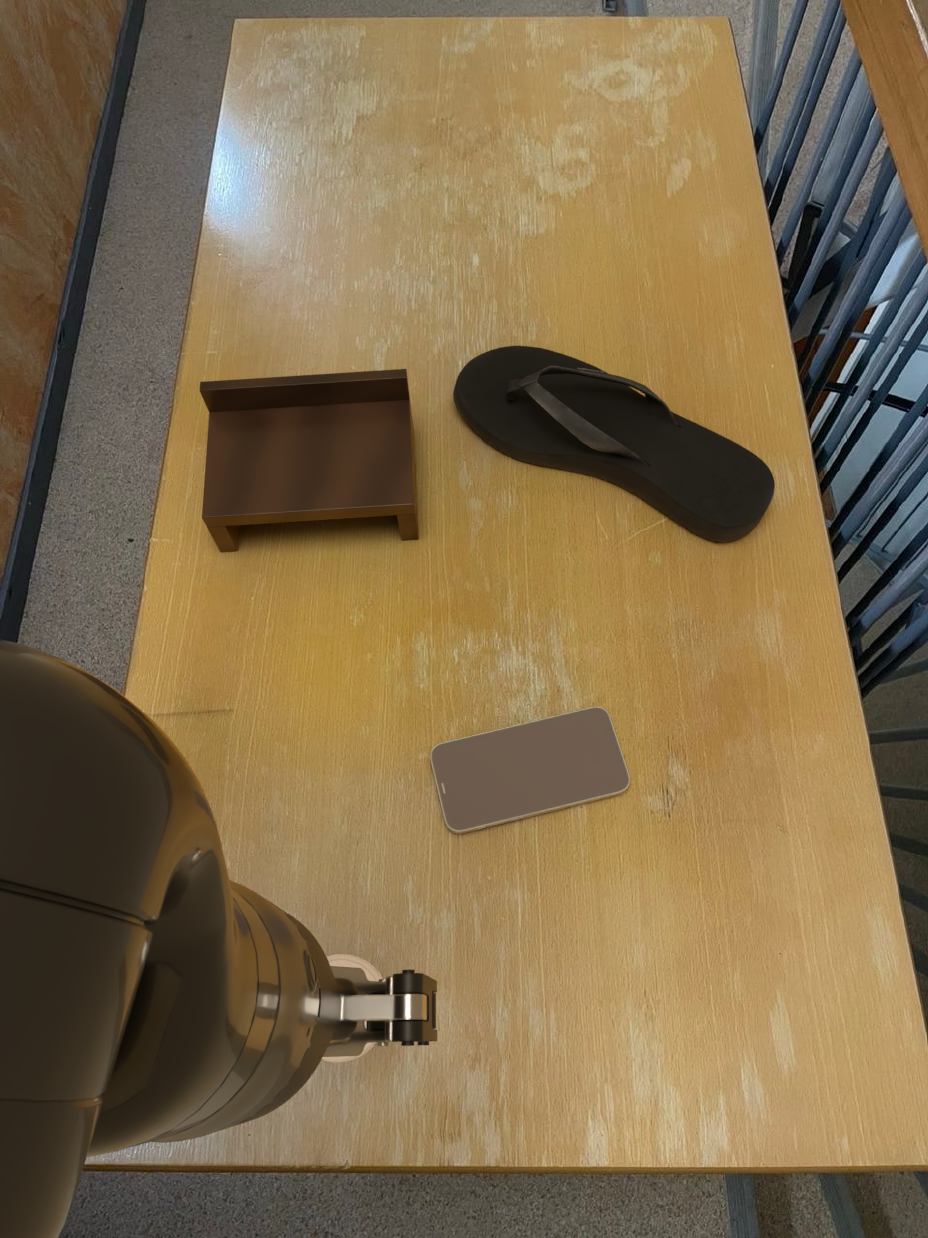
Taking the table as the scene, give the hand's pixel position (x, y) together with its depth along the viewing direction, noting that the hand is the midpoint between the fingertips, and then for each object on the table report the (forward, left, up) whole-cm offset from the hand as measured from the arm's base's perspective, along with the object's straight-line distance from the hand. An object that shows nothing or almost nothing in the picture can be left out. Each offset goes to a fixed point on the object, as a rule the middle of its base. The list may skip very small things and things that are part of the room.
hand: (295, 1017), depth 44 cm
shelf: (-3, +46, -24) cm, 52 cm away
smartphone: (+14, +18, -24) cm, 33 cm away
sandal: (+24, +48, -24) cm, 59 cm away
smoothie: (0, +1, -24) cm, 24 cm away
